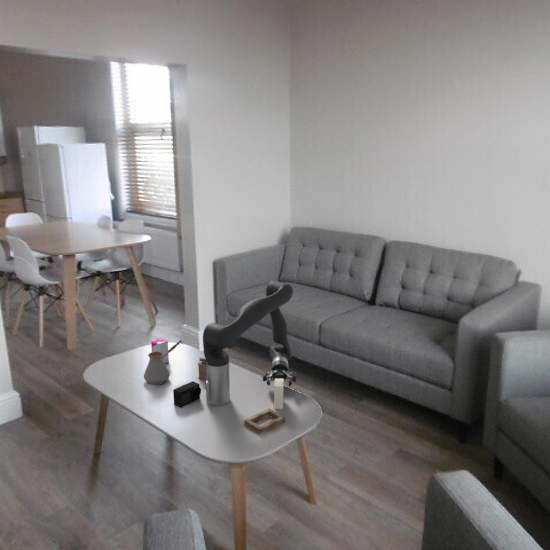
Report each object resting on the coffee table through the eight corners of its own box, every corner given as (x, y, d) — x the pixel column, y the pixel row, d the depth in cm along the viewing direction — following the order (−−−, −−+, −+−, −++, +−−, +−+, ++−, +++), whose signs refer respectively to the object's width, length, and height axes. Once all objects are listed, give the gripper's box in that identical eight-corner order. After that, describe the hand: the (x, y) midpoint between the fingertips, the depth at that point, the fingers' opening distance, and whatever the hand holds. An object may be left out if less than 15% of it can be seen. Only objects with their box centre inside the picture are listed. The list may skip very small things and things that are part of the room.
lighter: (216, 378, 237) (216, 357, 235) (213, 381, 234) (213, 360, 232) (200, 376, 239) (199, 355, 237) (197, 379, 236) (196, 358, 234)
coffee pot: (154, 389, 227) (153, 357, 223) (138, 381, 234) (136, 350, 230) (192, 372, 243) (190, 342, 239) (175, 366, 250) (174, 336, 246)
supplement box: (169, 362, 254) (168, 340, 251) (160, 366, 249) (159, 344, 246) (160, 359, 257) (159, 337, 254) (151, 364, 252) (150, 341, 249)
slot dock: (260, 434, 193) (260, 429, 192) (244, 424, 199) (244, 420, 198) (285, 421, 201) (285, 416, 201) (269, 412, 208) (269, 408, 207)
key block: (274, 409, 211) (274, 386, 208) (274, 400, 217) (274, 378, 215) (283, 409, 211) (283, 386, 208) (283, 400, 217) (283, 378, 215)
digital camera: (182, 409, 210) (181, 393, 208) (173, 404, 214) (173, 389, 212) (202, 400, 218) (201, 384, 216) (193, 395, 221) (193, 380, 219)
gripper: (264, 359, 234) (262, 375, 218) (296, 359, 233) (296, 375, 218) (264, 374, 236) (262, 391, 220) (295, 375, 235) (296, 392, 220)
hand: (279, 383), depth 219 cm, fingers open, 8 cm apart
